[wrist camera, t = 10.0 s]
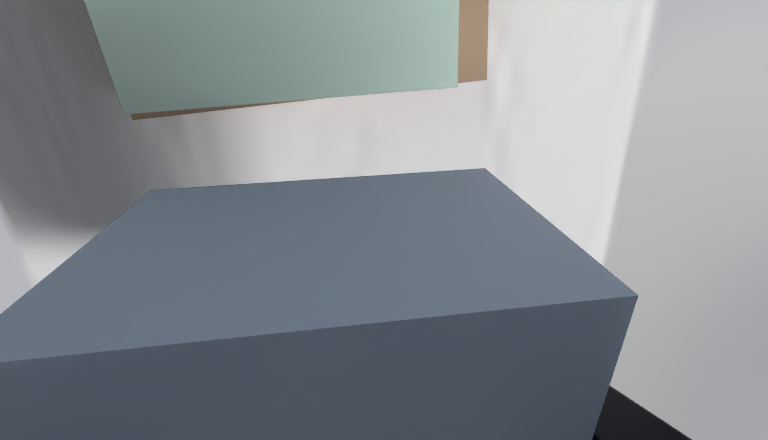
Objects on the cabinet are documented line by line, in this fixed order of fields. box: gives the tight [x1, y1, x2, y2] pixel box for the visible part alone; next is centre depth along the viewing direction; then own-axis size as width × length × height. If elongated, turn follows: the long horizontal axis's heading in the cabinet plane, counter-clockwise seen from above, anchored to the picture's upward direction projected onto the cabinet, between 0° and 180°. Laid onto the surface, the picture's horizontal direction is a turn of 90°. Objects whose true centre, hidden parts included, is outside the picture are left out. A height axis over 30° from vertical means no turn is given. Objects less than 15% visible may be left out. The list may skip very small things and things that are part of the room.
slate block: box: [0, 168, 638, 440], centre depth 7 cm, size 7×6×4 cm
